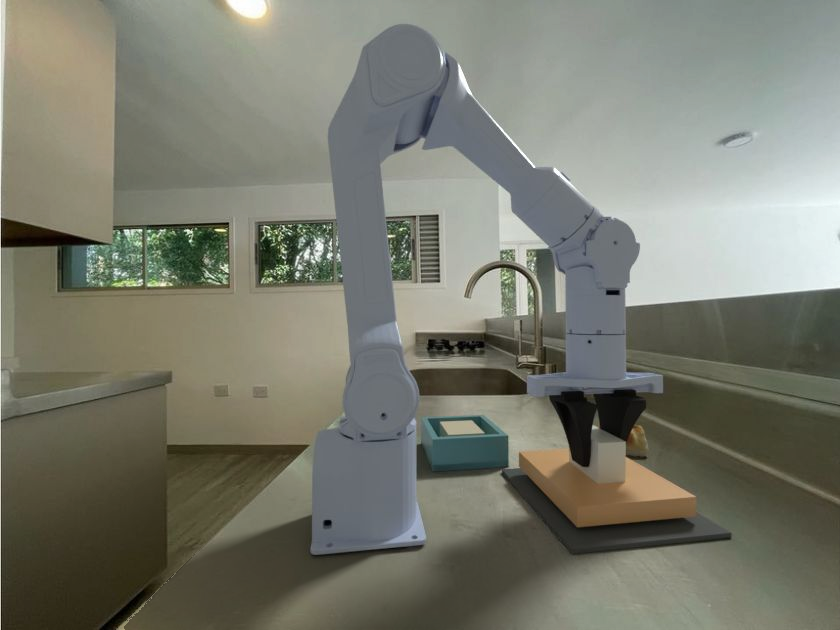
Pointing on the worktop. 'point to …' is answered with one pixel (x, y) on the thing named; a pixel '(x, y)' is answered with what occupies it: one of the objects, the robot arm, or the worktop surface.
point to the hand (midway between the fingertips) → (595, 462)
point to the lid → (605, 485)
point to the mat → (612, 533)
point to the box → (463, 443)
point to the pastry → (636, 442)
